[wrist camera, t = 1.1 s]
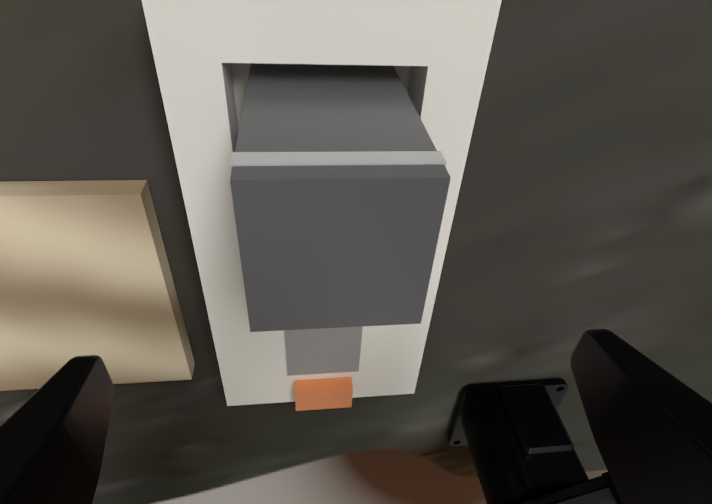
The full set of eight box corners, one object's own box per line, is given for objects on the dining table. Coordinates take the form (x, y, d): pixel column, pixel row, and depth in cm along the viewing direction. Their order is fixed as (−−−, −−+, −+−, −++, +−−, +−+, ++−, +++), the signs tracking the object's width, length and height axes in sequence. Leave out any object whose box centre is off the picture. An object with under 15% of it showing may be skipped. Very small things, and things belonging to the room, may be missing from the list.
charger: (381, 185, 18) (422, 324, 12) (260, 186, 17) (248, 333, 12) (394, 62, 15) (453, 175, 10) (249, 60, 14) (226, 178, 9)
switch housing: (402, 345, 26) (417, 406, 23) (232, 355, 25) (225, 419, 22) (471, -41, 14) (516, -16, 11) (160, -55, 13) (126, -32, 10)
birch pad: (194, 363, 25) (191, 379, 24) (-36, 376, 23) (-47, 393, 23) (146, 179, 18) (140, 194, 17) (-185, 183, 16) (-209, 199, 16)
